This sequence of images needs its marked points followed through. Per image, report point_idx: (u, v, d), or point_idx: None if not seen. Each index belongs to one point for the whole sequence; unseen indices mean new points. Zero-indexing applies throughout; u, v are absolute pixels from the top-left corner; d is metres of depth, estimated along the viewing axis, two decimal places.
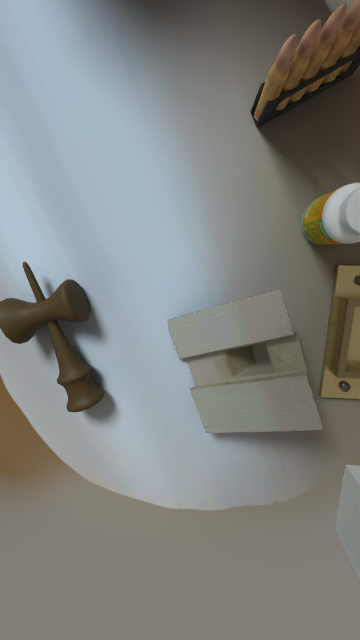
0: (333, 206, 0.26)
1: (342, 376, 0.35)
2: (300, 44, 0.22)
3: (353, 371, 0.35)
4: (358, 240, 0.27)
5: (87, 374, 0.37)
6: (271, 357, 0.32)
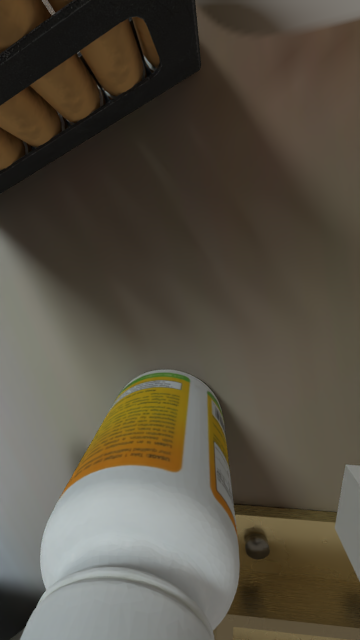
0: (46, 564, 0.07)
1: None
2: None
3: None
4: None
5: None
6: None
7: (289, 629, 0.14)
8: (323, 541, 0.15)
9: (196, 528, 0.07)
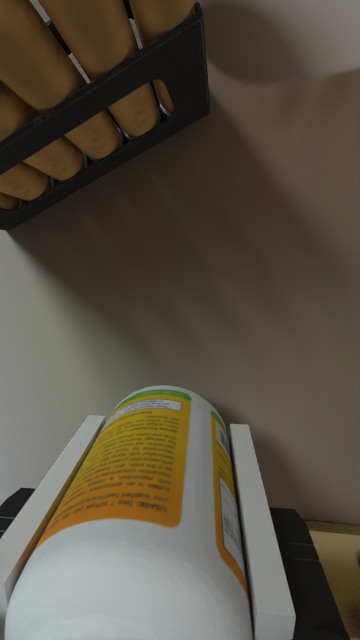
0: None
1: None
2: None
3: None
4: None
5: None
6: None
7: None
8: (326, 551, 0.15)
9: (199, 608, 0.05)
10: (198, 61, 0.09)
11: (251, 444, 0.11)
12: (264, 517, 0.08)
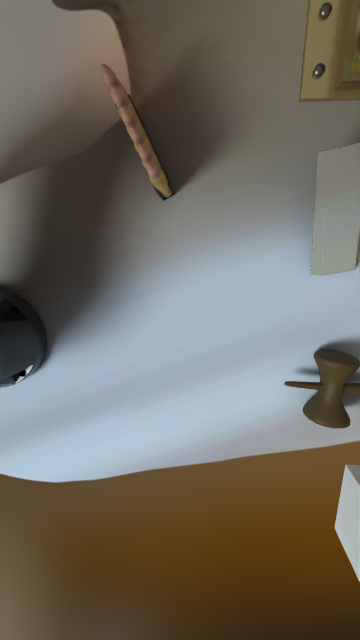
0: None
1: None
2: (146, 159, 0.28)
3: None
4: None
5: None
6: None
7: (352, 43, 0.31)
8: (318, 37, 0.32)
9: None
10: None
11: None
12: None
